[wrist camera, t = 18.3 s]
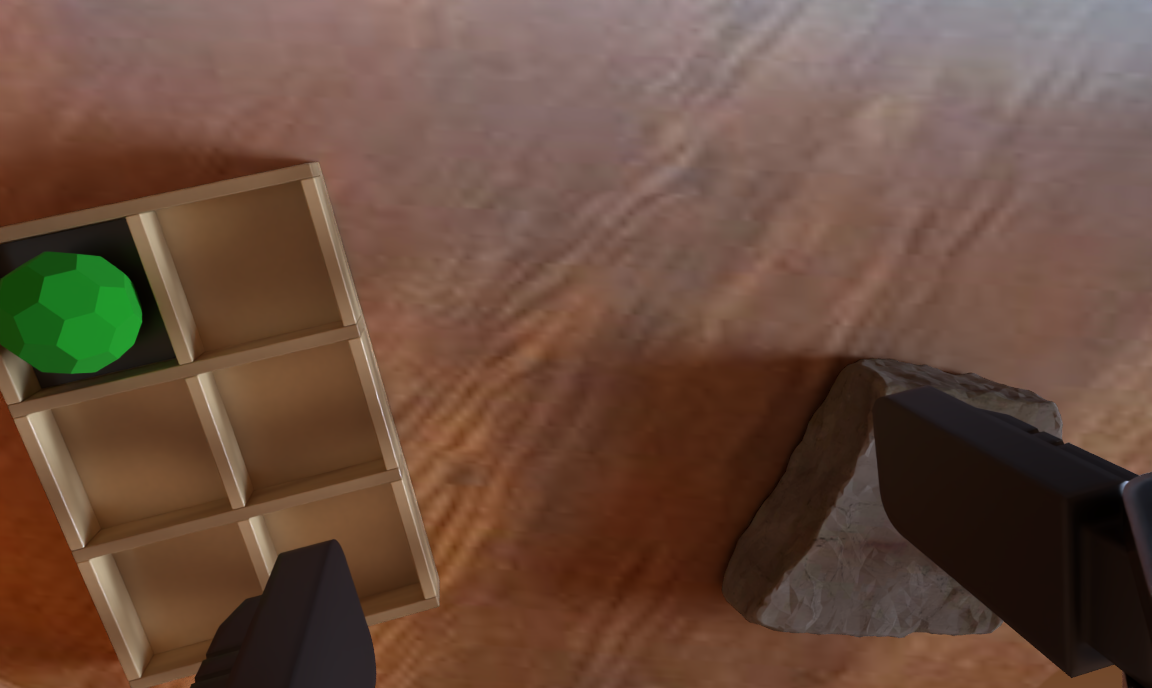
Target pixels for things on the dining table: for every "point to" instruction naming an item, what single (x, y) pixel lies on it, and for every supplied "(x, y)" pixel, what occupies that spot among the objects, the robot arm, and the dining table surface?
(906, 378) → the marble piece
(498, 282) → the dining table surface
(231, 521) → the compartment tray
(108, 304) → the polyhedron
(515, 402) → the dining table surface
